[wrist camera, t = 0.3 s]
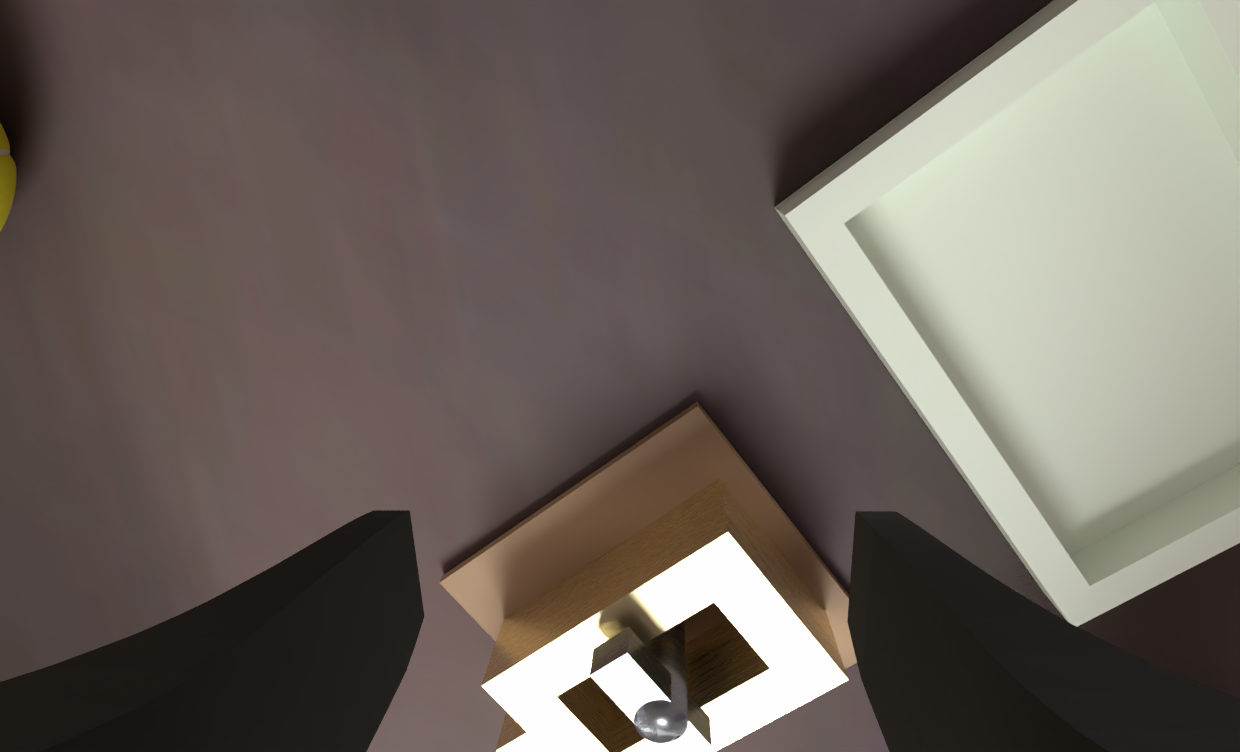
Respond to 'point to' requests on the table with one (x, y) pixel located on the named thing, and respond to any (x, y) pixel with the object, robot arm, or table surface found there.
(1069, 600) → the tray
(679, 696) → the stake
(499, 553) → the stake base
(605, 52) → the table surface
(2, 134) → the tennis ball
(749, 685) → the gold hollow block
